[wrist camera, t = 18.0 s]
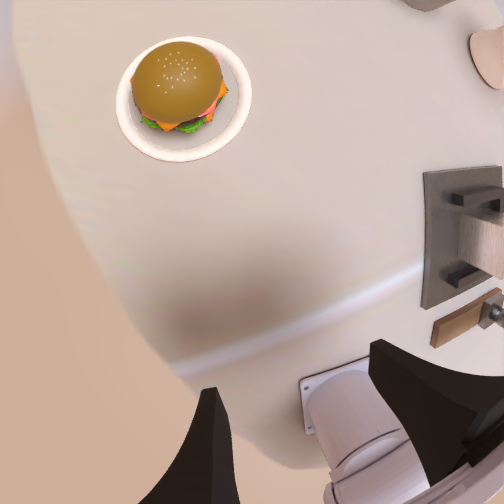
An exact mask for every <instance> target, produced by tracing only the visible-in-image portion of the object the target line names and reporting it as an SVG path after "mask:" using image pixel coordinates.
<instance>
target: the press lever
mask: <svg viewBox="0 0 504 504" xmlns="http://www.w3.org/2000/svg"><path fill="white" fill-rule="evenodd" d="M503 301H504V295H503V294H501V293H499V292H498V293H496V294H494V295H493V296H491V297H490V298H488V299H486V300H485V301H484V303H483V308H482V312H481V317H480V321H479V326H480V327H481V328H483V329H486V328H487V327H489V326H490V325H492V324H493V323H494V322H495V323H497V324H498V325H500V326H501V327H502V328H504V309H503V308H502V305H503Z"/></svg>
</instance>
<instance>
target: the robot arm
mask: <svg viewBox="0 0 504 504" xmlns="http://www.w3.org/2000/svg"><path fill="white" fill-rule="evenodd" d="M306 386H307V387H306ZM300 390H301V398H302V407H303V416H304V425H305V432H306V434H307V435H310V434H313V433H316V436H317V438H318V440H319V443H320V445H321V447H322V450H323V452H324V454H325V457H326V459H327V461H328V464H329V466H330V468H331V470H332V471H331V472H329V474H330V477H331V479H332V482H330V483H329V484H327V485H326V488H325V491H324V495H323V499H324V504H485V503H487V502H488V501H489V500H490V499H491V498H492V497H493V496H494V495H495V494H497V493H498V492H499V491H500V490H501V489H502V488H503V487H504V376H480V375H473V374H467V373H462V372H457V371H453V370H450V369H447V368H443V367H440V366H438V365H435V364H432V363H430V362H427V361H425V360H423V359H421V358H418V357H416V356H414V355H412V354H410V353H408V352H406V351H404V350H402V349H400V348H398V347H396V346H394V345H392V344H391V343H389V342H387V341H385V340H383V339H379V340H377V341H374V342H372V343H370V354H369V357H367V358H364V359H362V360H359V361H356V362H354V363H351V364H348V365H345V366H343V367H340V368H337V369H334V370H331V371H328V372H325V373H322V374H319V375H316V376H312V377H309V378H306V379H303V380H302V381H301V382H300ZM138 504H240V501H239V497H238V492H237V487H236V482H235V476H234V464H233V451H232V438H231V430H230V425H229V420H228V415H227V412H226V410H225V407H224V405H223V402H222V400H221V397H220V395H219V392H218V390H217V387H213V388H208V389H203V390H202V391H201V394H200V398H199V402H198V406H197V409H196V412H195V415H194V418H193V420H192V423H191V426H190V428H189V431H188V433H187V435H186V438H185V440H184V442H183V444H182V446H181V448H180V450H179V452H178V454H177V455H176V457H175V459H174V461H173V462H172V464H171V465H170V467H169V468H168V470H167V471H166V473H165V474H164V475H163V477H162V478H161V479H160V481H159V482H158V483H157V484H156V485H155V487H154V488H153V489H152V490H151V491H150V493H149V494H148V495H147V496H146V497H145V498H143V499H142V500H141V501H140V502H139V503H138Z"/></svg>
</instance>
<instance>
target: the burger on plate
mask: <svg viewBox="0 0 504 504" xmlns="http://www.w3.org/2000/svg"><path fill="white" fill-rule="evenodd" d="M213 54H214V55H216V56H217V57H219V58H220V59H222V60H223V61H224V62H225V63H226V64H227V65H228V66H229V67H230V69H231V70H232V72H233V74H234V75H235V78H236V81H237V84H238V90H239V99H238V106H237V109H236V112H235V115H234V117H233V119H232V120H231V122H230V124H229V125H228V126H227V127H226V129H225V130H224V131H223V132H222V133H221V134H219V135H218V136H217V137H216V138H214V139H213V140H211V141H209V142H208V143H206V144H204V145H201V146H198V147H195V148H191V149H184V150H176V149H167V148H163V147H160V146H157V145H155V144H153V143H151V142H150V141H148V140H147V139H146V138H144V137H143V136H142V135H141V134H140V133H139V131H138V130H137V129H136V127H135V125H134V124H133V122H132V119H131V116H130V112H129V95H130V90H131V87H132V93H133V98H134V103H135V105H136V106H137V108H138V110H139V111H140V113H141V114H142V115H143V118H142V120H141V122H145V123H147V124H148V125H149V126H150V128H157V127H161V128H162V130H163V131H166V132H167V131H169V130H182V131H185V132H187V133H191V132H192V133H194V131H196V129H197V130H198V129H199V126H200V125H202V124H204V122H209V121H212V117H213V112H214V110H215V108H216V107H217V104H218V103H219V102H220V101H221V99H222V97H223V96H224V95H225V94H226V93H228V92H227V91H229V90H228V89H227V88H226V86H225V84H224V81H223V76H222V73H221V69H220V65H219V62H218V60H217V59H216V57H215V56H214V55H213ZM251 101H252V88H251V81H250V78H249V75H248V72H247V70H246V68H245V66H244V65H243V63H242V61H241V60H240V59H239V58H238V57H237V56H236V55H235V54H234V53H233V52H232V51H231V50H229V49H228V48H227V47H225V46H224V45H222V44H220V43H218V42H215V41H213V40H210V39H206V38H201V37H189V36H185V37H177V38H171V39H168V40H165V41H162V42H159V43H157V44H155V45H154V46H152V47H150V48H148V49H147V50H145V51H144V52H143V53H141V54H140V55H139V56H138V57H137V58H136V59H135V60H134V61H133V62H132V63H131V64H130V65H129V67H128V68H127V70H126V71H125V73H124V75H123V76H122V78H121V81H120V84H119V86H118V89H117V95H116V115H117V119H118V122H119V126H120V127H121V129H122V131H123V133H124V135H125V137H126V138H127V139H128V140H129V141H130V142H131V143H132V145H133V146H135V147H136V148H137V149H139V150H140V151H141V152H143V153H144V154H147V155H149V156H151V157H153V158H155V159H160V160H164V161H169V162H185V161H192V160H197V159H200V158H203V157H206V156H209V155H211V154H213V153H214V152H216V151H218V150H220V149H221V148H223V147H224V146H225V145H226V144H228V143H229V142H230V141H231V140H232V139H233V138H234V137H235V136H236V135H237V133H238V132H239V131H240V130H241V128H242V126H243V125H244V123H245V121H246V119H247V117H248V114H249V111H250V108H251Z"/></svg>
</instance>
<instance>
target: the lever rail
mask: <svg viewBox="0 0 504 504" xmlns="http://www.w3.org/2000/svg"><path fill="white" fill-rule="evenodd" d="M498 292H499V293H502V290H501V289H499V288H495V289H494V290H492V291H490V292H489V293H487V294H485V295H484V296H482V297H480V298H478V299H477V300H475V301H473V302H471V303H470V304H468V305H466V306H464V307H462V308H460V309H459V310H457V311H455V312H453V313H451V314H449V315H447V316H445V317H443V318H441V319H439V320H437V321H435V322H434V328H433V333H432V338H431V343H430V345H432V346H433V347H434V348H435V349H436V348H438V347H440V346H441V345H443V344H445V343H447V342H449V341H450V340H452V339H454V338H456V337H457V336H459V335H461V334H462V333H464V332H466V331H467V330H469V329H470V328H472V327H474V326H475V325H477V324H478V323H479V321H480V317H481V312H482V308H483V303H484V301H485V300H486V299H488V298H490V297H491V296H493V295H494V294H496V293H498Z"/></svg>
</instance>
